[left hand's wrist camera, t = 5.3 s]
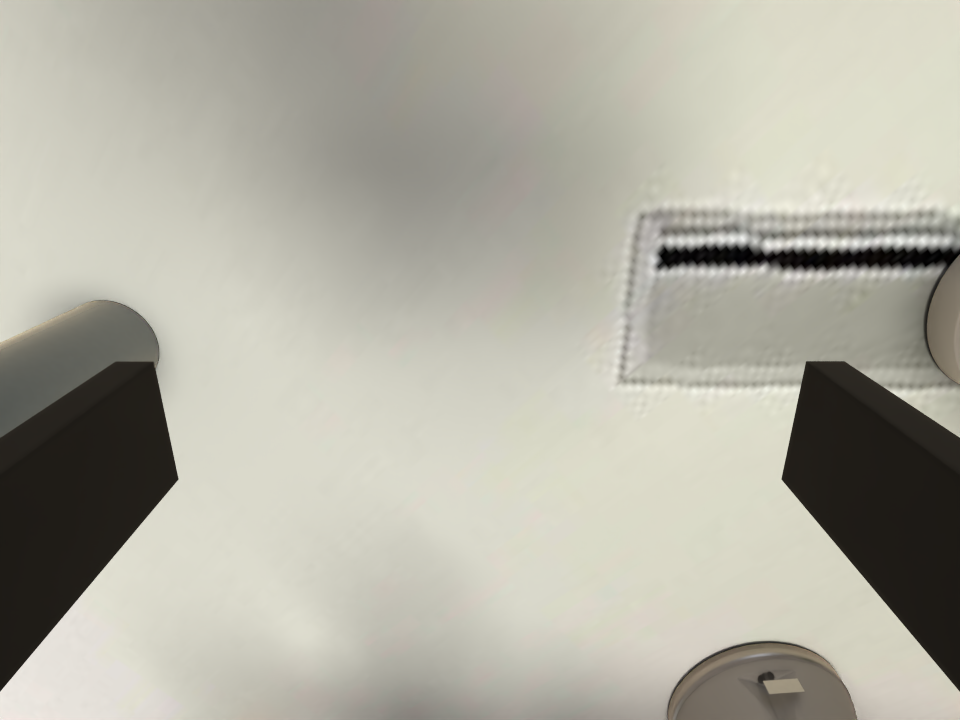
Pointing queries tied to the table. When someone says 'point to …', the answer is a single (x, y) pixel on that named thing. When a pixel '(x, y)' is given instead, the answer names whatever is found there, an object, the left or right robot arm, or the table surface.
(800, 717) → the right robot arm
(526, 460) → the table surface
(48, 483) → the left robot arm
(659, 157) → the table surface
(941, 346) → the bust sculpture
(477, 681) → the table surface
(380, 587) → the table surface
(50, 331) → the bottle
